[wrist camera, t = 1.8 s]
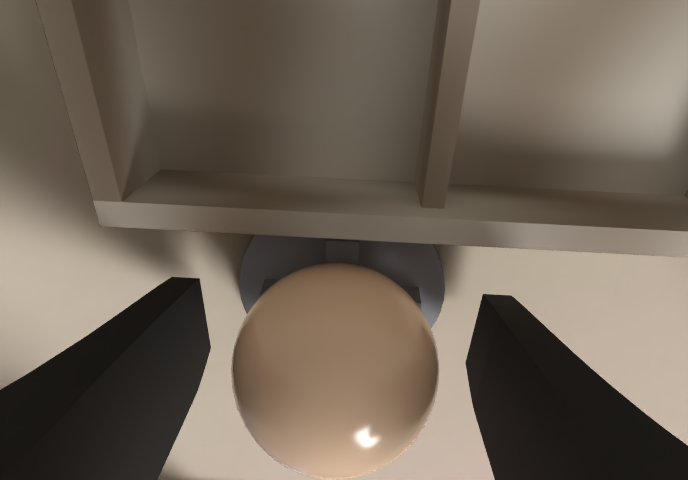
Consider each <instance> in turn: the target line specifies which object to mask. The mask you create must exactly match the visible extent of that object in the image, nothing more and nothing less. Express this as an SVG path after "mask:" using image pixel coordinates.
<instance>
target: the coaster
mask: <svg viewBox="0 0 688 480" xmlns="http://www.w3.org/2000/svg"><path fill="white" fill-rule="evenodd" d="M324 263H347V264H354V265H359V266H363V267H366V268H369V269H372V270H375V271H377V272H379V273H381V274H383V275H385V276H386V277H388V278H389V279H391V280H392V281H394V282H395V283H397V284H398V285H399V286H400V287H402V288H403V289H404V290H405V291H406V292H407V293H408V294H409V295H410V296H411V297H412V299H413V300H414V301H415V302H416V303H417V304H418V306H419V308H420V309H421V311H422V312H423V314H424V315H425V317H426V319H427V321H428V323H429V326H430V328H432V326H433V325H434V323H435V322H436V320H437V318H438V315H439V313H440V311H441V308H442V304H443V301H444V292H445V284H444V275H443V271H442V266H441V263H440V259H439V256H438V254H437V251H436V249H435V247H434V245H433V244H425V243H406V242H388V241H369V240H350V239H331V238H312V237H293V236H274V235H256V234H255V236H254V237H253V239H252V241H251V243H250V245H249V247H248V249H247V251H246V253H245V255H244V258H243V261H242V264H241V268H240V275H239V289H240V295H241V300H242V303H243V306H244V308H245V311H246V313H247V314H248V312H249V310H250V309H251V308H252V306H253V305H254V304H255V302H256V301H257V300H258V299H259V297H260V296H261V295H262V294H263V293H264V292H265V291H267V290H268V289H269V288H270V287H271V286H272V285H273V284H274V283H276V282H277V281H279V280H280V279H282V278H283V277H285V276H287V275H289V274H291V273H293V272H295V271H297V270H300V269H302V268H305V267H308V266H313V265H317V264H324Z"/></svg>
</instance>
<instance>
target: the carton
mask: <svg viewBox="0 0 688 480" xmlns="http://www.w3.org/2000/svg"><path fill="white" fill-rule="evenodd" d="M35 1H36V4H37V8H38V11H39V15H40V18H41V22H42V25H43V29H44V32H45V36H46V39H47V43H48V46H49V50H50V53H51V57H52V60H53V64H54V67H55V71H56V74H57V77H58V81H59V84H60V88H61V91H62V95H63V98H64V102H65V105H66V109H67V112H68V116H69V119H70V123H71V126H72V130H73V133H74V137H75V140H76V144H77V147H78V151H79V154H80V158H81V161H82V165H83V168H84V172H85V175H86V178H87V182H88V185H89V189H90V192H91V196H92V199H93V203H94V206H95V210H96V213H97V217H98V220H99V224H100V226H105V227H124V228H142V229H161V230H180V231H199V232H218V233H237V234H256V235H274V236H293V237H312V238H331V239H350V240H369V241H388V242H406V243H425V244H444V245H463V246H482V247H501V248H520V249H538V250H557V251H576V252H595V253H614V254H633V255H652V256H670V257H688V0H35Z"/></svg>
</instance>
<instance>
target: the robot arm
mask: <svg viewBox="0 0 688 480" xmlns="http://www.w3.org/2000/svg"><path fill="white" fill-rule="evenodd" d="M210 349H211V346H210V340H209V334H208V328H207V321H206V315H205V309H204V303H203V297H202V291H201V285H200V279H199V278H180V277H171V278H170V279H168V280H167V281H165V282H163V283H162V284H160V285H159V286H157V287H156V288H155V289H153V290H152V291H150V292H149V293H147V294H146V295H145V296H143V297H142V298H140V299H139V300H138V301H136V302H135V303H133V304H132V305H131V306H129V307H128V308H126V309H125V310H123V311H122V312H121V313H119V314H118V315H116V316H115V317H113V318H112V319H111V320H109V321H108V322H106V323H105V324H103V325H102V326H100V327H99V328H98V329H96V330H95V331H93V332H92V333H90V334H89V335H87V336H86V337H84V338H83V339H81V340H80V341H78V342H77V343H75V344H74V345H72V346H70V347H69V348H67V349H66V350H64V351H63V352H61V353H60V354H58V355H56V356H55V357H53V358H52V359H50V360H49V361H47V362H46V363H44V364H42V365H41V366H39V367H38V368H36V369H35V370H33V371H31V372H30V373H28V374H26V375H25V376H23V377H21V378H20V379H18V380H16V381H15V382H13V383H11V384H10V385H8V386H6V387H4V388H3V389H1V390H0V480H157V479H158V477H159V475H160V473H161V470H162V468H163V466H164V464H165V462H166V460H167V457H168V455H169V453H170V451H171V449H172V446H173V444H174V442H175V440H176V438H177V435H178V433H179V431H180V429H181V427H182V425H183V422H184V420H185V418H186V416H187V413H188V411H189V409H190V407H191V404H192V402H193V400H194V398H195V395H196V393H197V391H198V388H199V385H200V382H201V379H202V376H203V373H204V369H205V366H206V363H207V359H208V356H209V352H210ZM466 368H467V374H468V380H469V387H470V392H471V397H472V403H473V408H474V411H475V415H476V418H477V422H478V425H479V428H480V432H481V435H482V438H483V442H484V445H485V448H486V452H487V455H488V458H489V461H490V465H491V468H492V471H493V475H494V478H495V480H688V446H687V445H686V444H685V443H683V442H682V441H681V440H679V439H678V438H676V437H675V436H674V435H672V434H671V433H670V432H668V431H667V430H666V429H664V428H663V427H662V426H660V425H659V424H658V423H657V422H655V421H654V420H653V419H651V418H650V417H649V416H647V415H646V414H645V413H644V412H642V411H641V410H640V409H639V408H638V407H636V406H635V405H634V404H633V403H632V402H630V401H629V400H628V399H627V398H625V397H624V396H623V395H622V394H621V393H619V392H618V391H617V390H616V389H614V388H613V387H612V386H611V385H610V384H608V383H607V382H606V381H605V380H604V379H603V378H602V377H600V376H599V375H598V374H597V373H596V372H595V371H593V370H592V369H591V368H590V367H589V366H588V365H587V364H585V363H584V362H583V361H582V360H581V359H580V358H579V357H578V356H577V355H575V354H574V353H573V352H572V351H571V350H570V349H569V348H568V347H567V346H566V345H565V344H563V343H562V342H561V341H560V340H559V339H558V338H557V337H556V336H555V335H554V334H553V333H552V332H551V331H549V330H548V329H547V328H546V327H545V326H544V325H543V324H542V323H541V322H540V321H539V320H538V319H537V318H536V317H535V316H533V315H532V314H531V313H530V312H529V311H528V310H527V309H526V308H525V307H524V306H523V305H522V304H520V303H519V302H518V301H517V300H516V299H515V298H514V297H512V296H508V295H489V294H483V296H482V300H481V304H480V308H479V312H478V316H477V320H476V324H475V328H474V332H473V336H472V340H471V344H470V348H469V352H468V356H467V359H466Z"/></svg>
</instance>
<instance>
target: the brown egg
mask: <svg viewBox="0 0 688 480" xmlns="http://www.w3.org/2000/svg"><path fill="white" fill-rule="evenodd" d="M231 373H232V388H233V393H234V397H235V401H236V405H237V409H238V411H239V413H240V416H241V418H242V420H243V422H244V424H245V426H246V428H247V430H248V431H249V433H250V434H251V436H252V437H253V438H254V440H255V441H256V442H257V443H258V445H259V446H260V447H261V448H262V449H263V450H264V451H265V452H266V453H267V454H269V455H270V456H271V457H272V458H273V459H274V460H276V461H277V462H279V463H280V464H282V465H284V466H285V467H287V468H289V469H291V470H294V471H296V472H298V473H300V474H303V475H306V476H310V477H314V478H319V479H328V480H340V479H349V478H354V477H359V476H362V475H366V474H369V473H372V472H374V471H376V470H379V469H380V468H382V467H384V466H386V465H387V464H389V463H390V462H392V461H393V460H395V459H396V458H398V457H399V456H400V455H401V454H402V453H403V452H404V451H405V450H406V449H407V448H408V447H409V446H410V445H411V444H412V443H413V442H414V440H415V439H416V438H417V437H418V435H419V434H420V432H421V431H422V429H423V428H424V426H425V424H426V422H427V420H428V418H429V415H430V413H431V411H432V408H433V405H434V402H435V398H436V394H437V388H438V379H439V362H438V353H437V347H436V343H435V340H434V336H433V333H432V330H431V328H430V326H429V323H428V321H427V319H426V317H425V315H424V314H423V312H422V311H421V309H420V308H419V306H418V304H417V303H416V302H415V301H414V300H413V299H412V297H411V296H410V295H409V294H408V293H407V292H406V291H405V290H404V289H403V288H402V287H400V286H399V285H398V284H397V283H395V282H394V281H392V280H391V279H389V278H388V277H386V276H385V275H383V274H381V273H379V272H377V271H375V270H372V269H369V268H366V267H363V266H359V265H354V264H347V263H324V264H317V265H313V266H308V267H305V268H302V269H300V270H297V271H295V272H293V273H291V274H289V275H287V276H285V277H283V278H282V279H280V280H279V281H277V282H276V283H274V284H273V285H272V286H271V287H270V288H269V289H268V290H267V291H265V292H264V293H263V294H262V295H261V296H260V297H259V299H258V300H257V301H256V302H255V304H254V305H253V306H252V308H251V309H250V310H249V312H248V314H247V316H246V317H245V319H244V321H243V323H242V325H241V327H240V330H239V333H238V336H237V338H236V342H235V346H234V350H233V357H232V367H231Z"/></svg>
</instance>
